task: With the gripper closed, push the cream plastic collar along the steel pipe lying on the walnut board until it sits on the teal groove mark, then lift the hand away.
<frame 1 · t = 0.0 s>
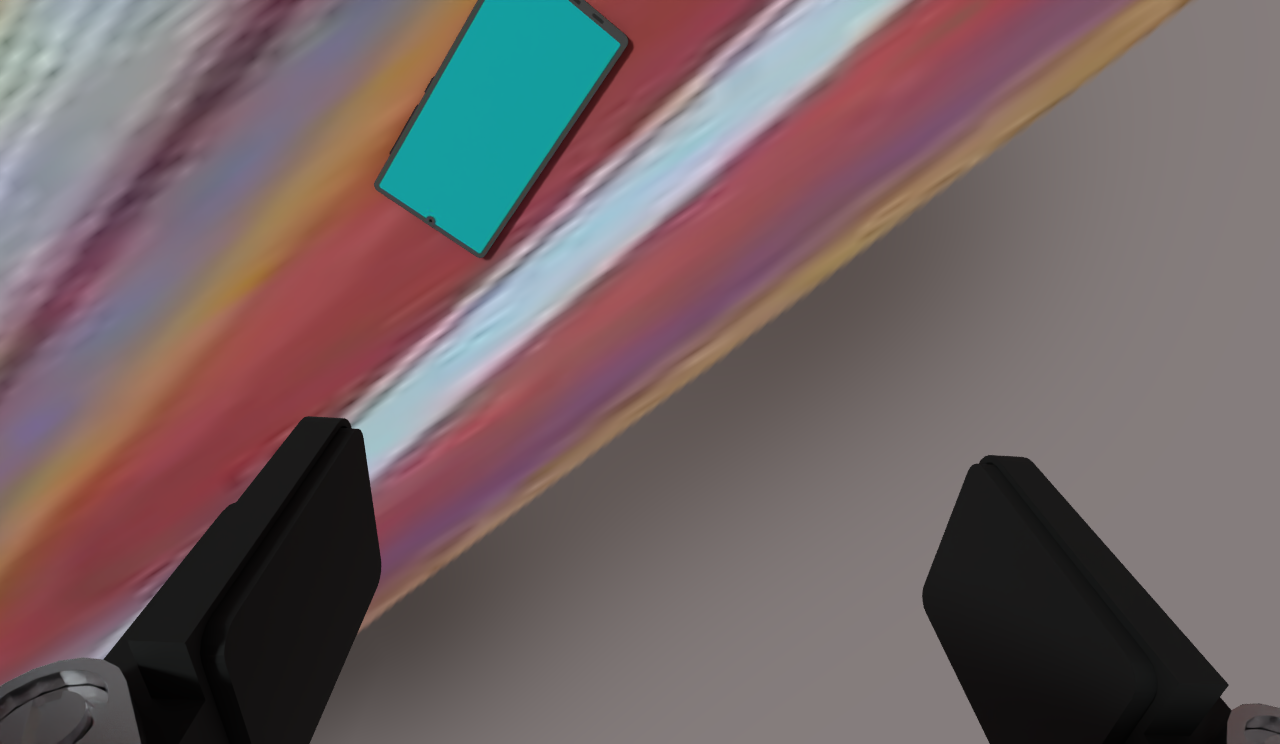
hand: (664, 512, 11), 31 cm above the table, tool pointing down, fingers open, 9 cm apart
smartphone: (497, 113, 38), on the table
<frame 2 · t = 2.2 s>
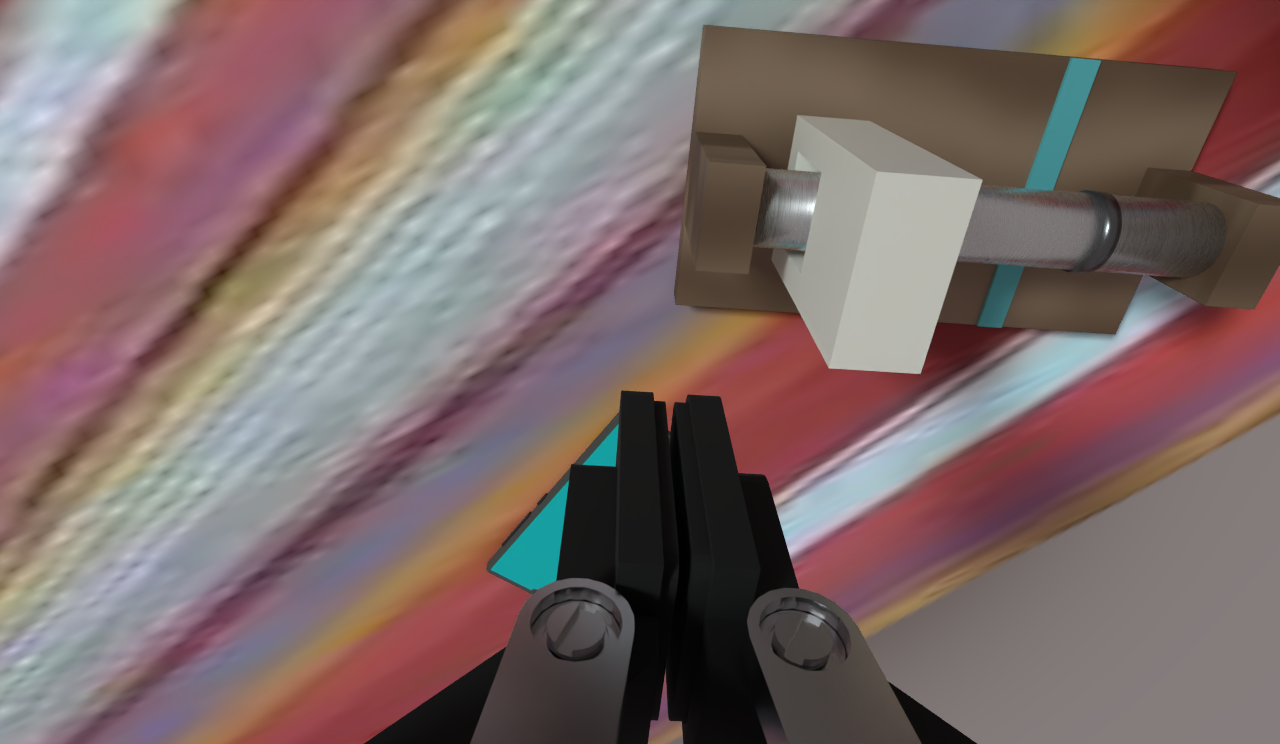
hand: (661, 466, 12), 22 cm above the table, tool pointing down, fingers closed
pipe rig: (921, 189, 31), on the table
smartphone: (600, 511, 41), on the table
collar: (851, 229, 25), point 7 cm above the table, slide at 0.0 cm
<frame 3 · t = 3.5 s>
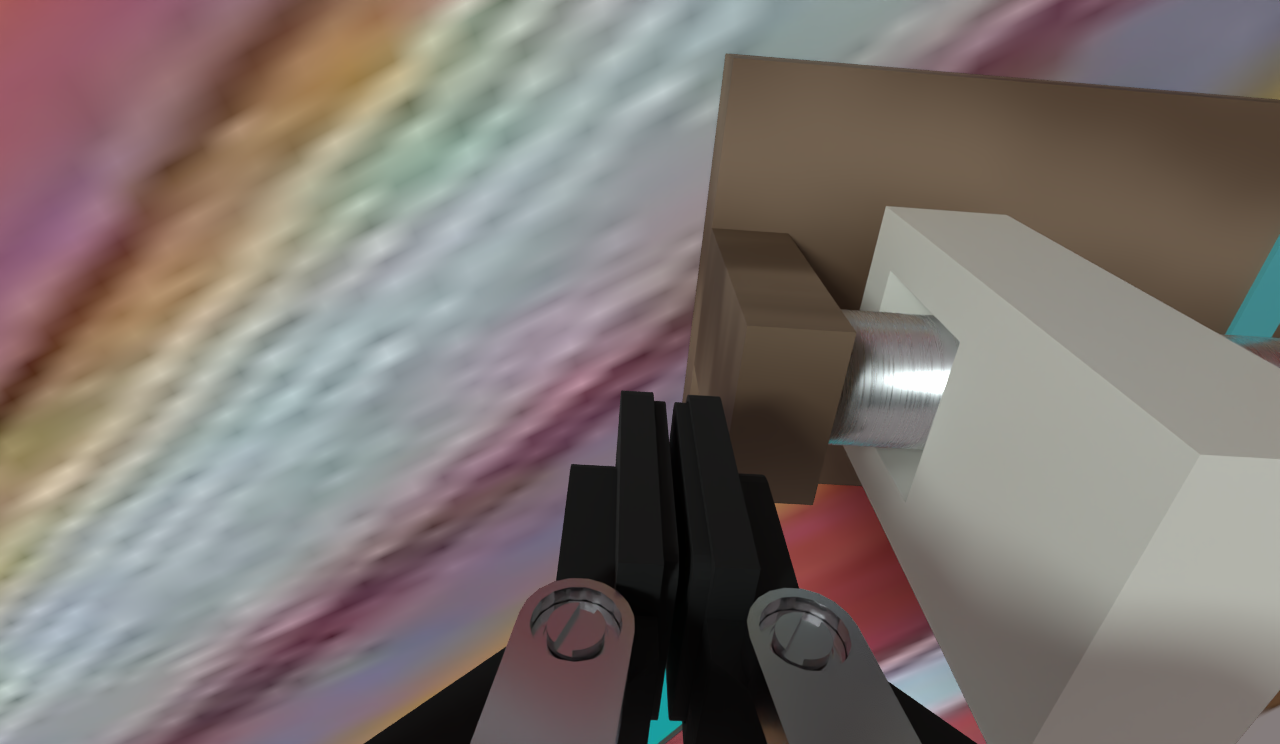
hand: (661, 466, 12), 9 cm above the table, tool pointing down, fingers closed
pipe rig: (1062, 304, 20), on the table
smartphone: (574, 711, 30), on the table
collar: (1006, 435, 13), point 7 cm above the table, slide at 0.0 cm
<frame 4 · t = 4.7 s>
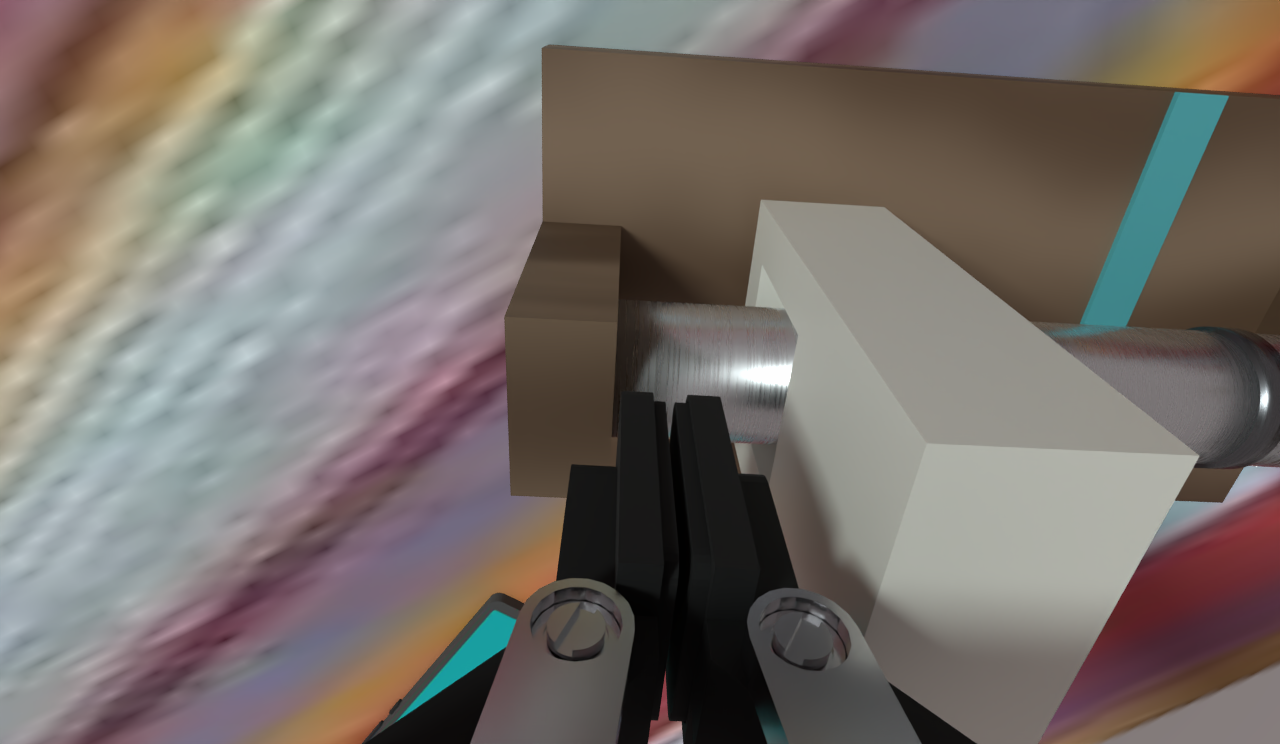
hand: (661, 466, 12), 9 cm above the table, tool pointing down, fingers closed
pipe rig: (922, 295, 20), on the table
smartphone: (483, 713, 30), on the table
collar: (858, 428, 13), point 8 cm above the table, slide at 1.3 cm, touching gripper
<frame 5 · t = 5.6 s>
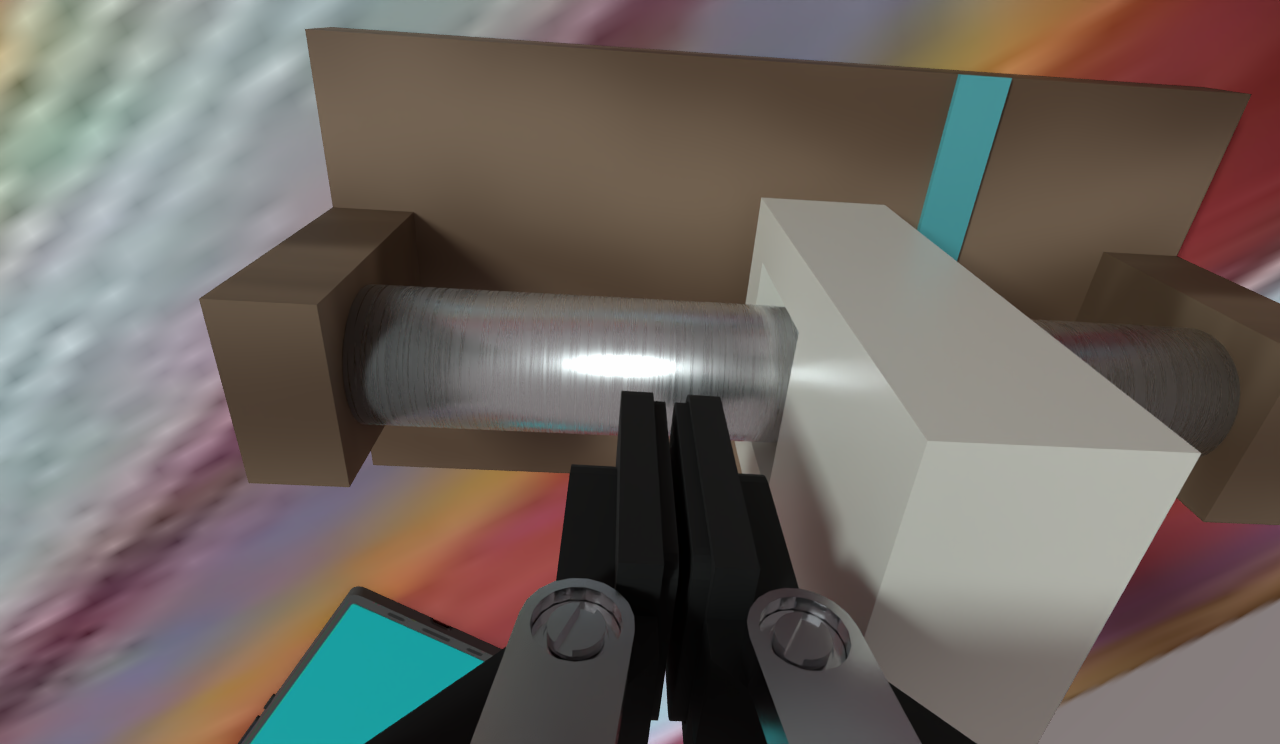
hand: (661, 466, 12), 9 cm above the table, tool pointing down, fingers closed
pipe rig: (746, 283, 20), on the table
smartphone: (363, 708, 30), on the table
collar: (858, 426, 13), point 8 cm above the table, slide at 6.6 cm, touching gripper
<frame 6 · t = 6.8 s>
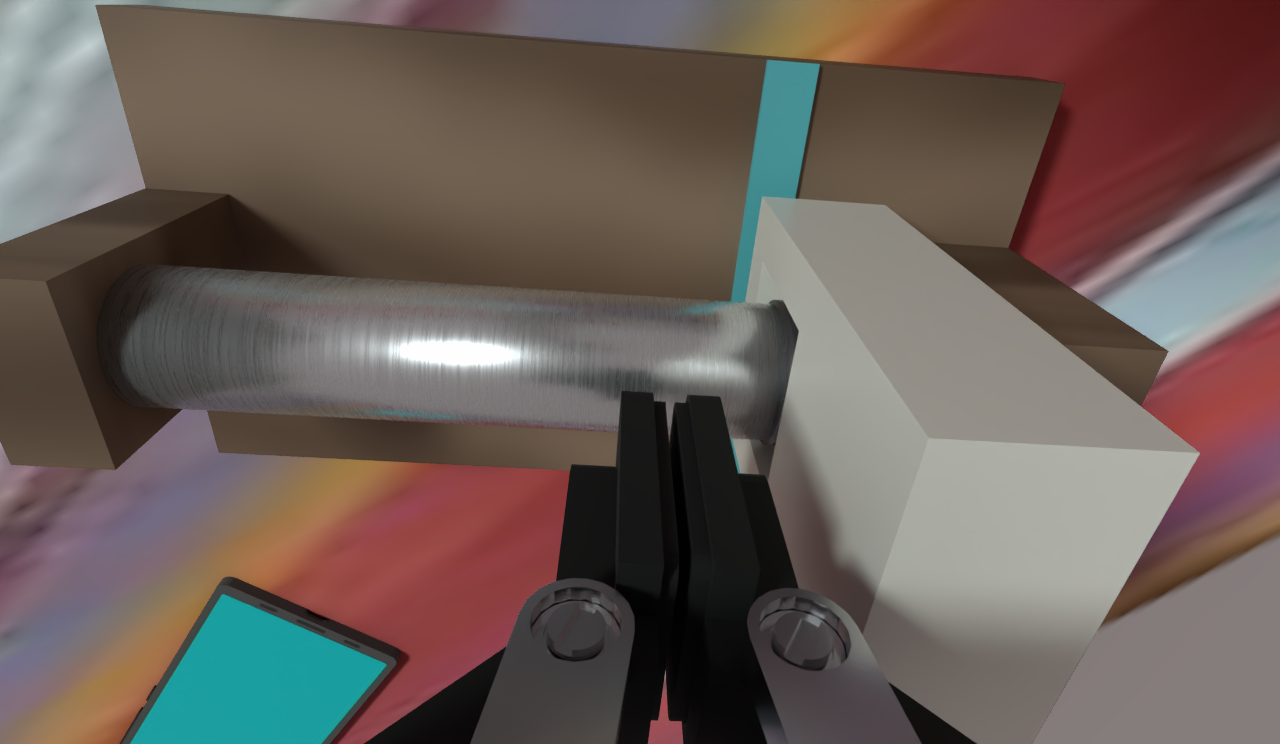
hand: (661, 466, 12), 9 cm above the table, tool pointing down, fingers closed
pipe rig: (590, 272, 19), on the table
smartphone: (251, 701, 29), on the table
collar: (857, 425, 13), point 7 cm above the table, slide at 11.1 cm, touching gripper
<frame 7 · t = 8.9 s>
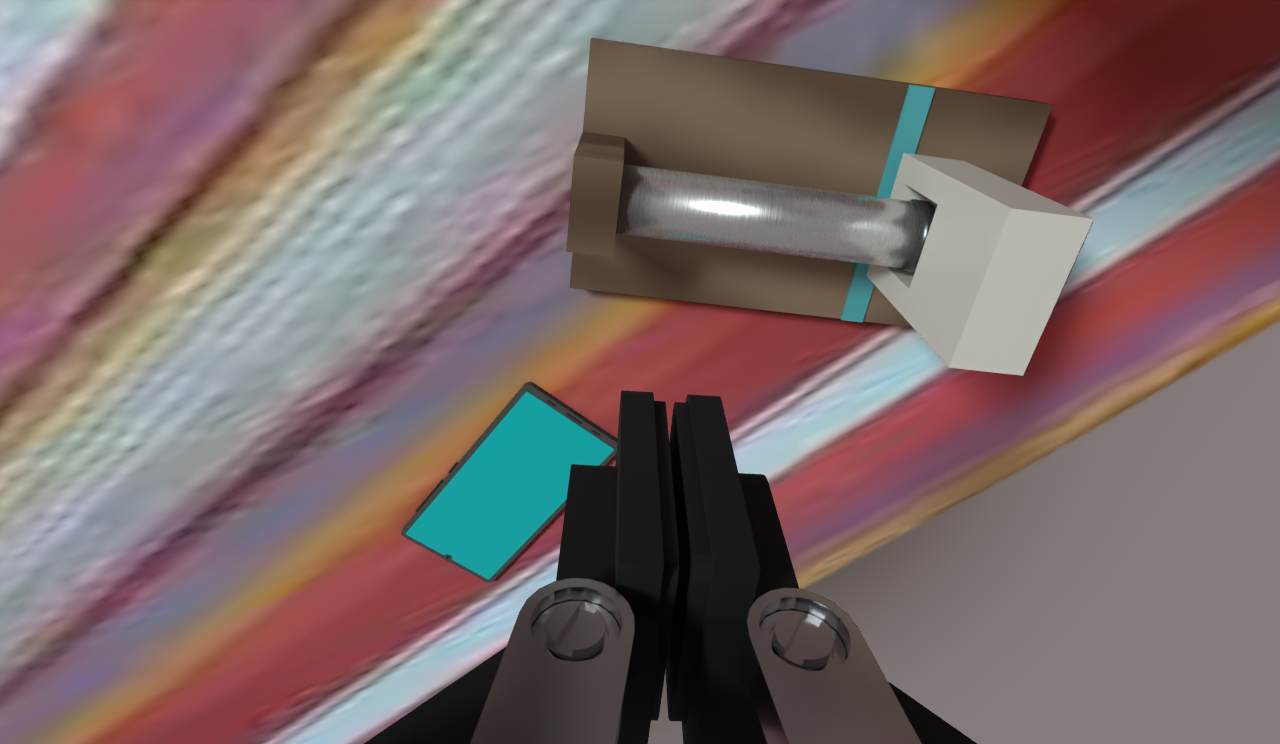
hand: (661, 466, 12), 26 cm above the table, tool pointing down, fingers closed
pipe rig: (790, 194, 35), on the table
smartphone: (509, 482, 45), on the table
collar: (957, 252, 29), point 8 cm above the table, slide at 11.2 cm
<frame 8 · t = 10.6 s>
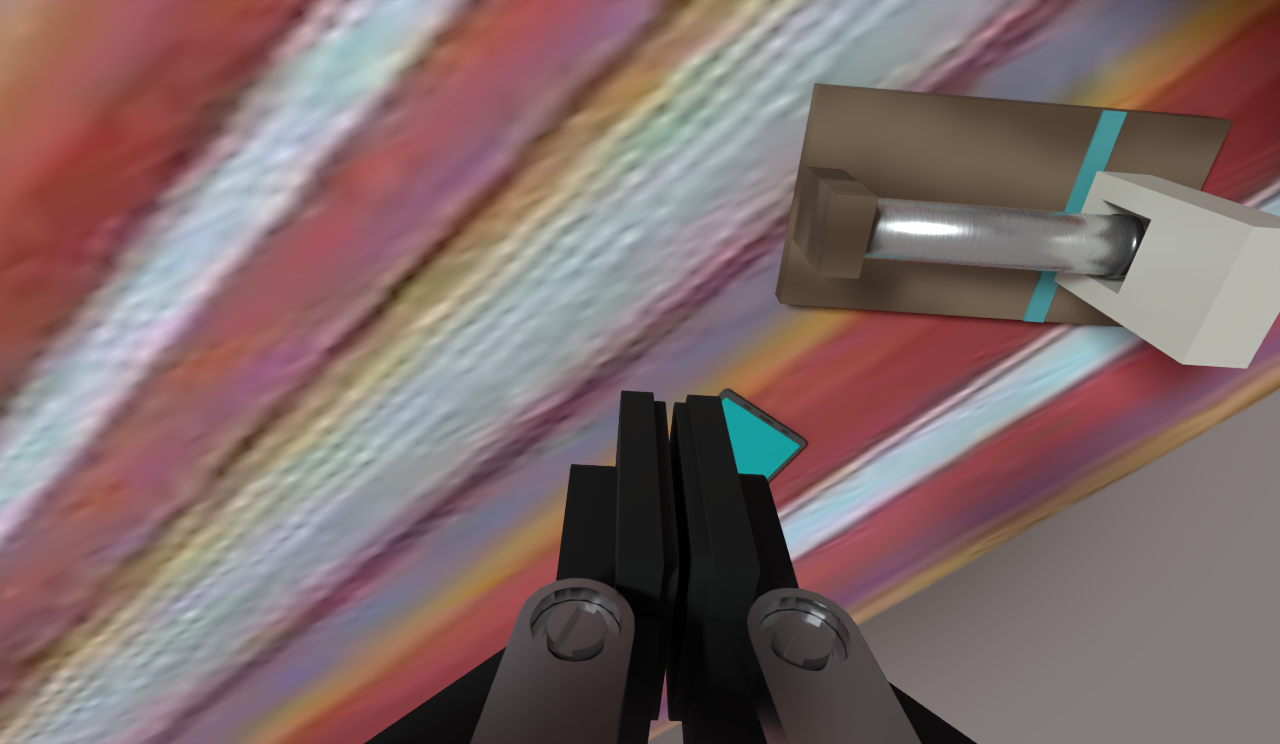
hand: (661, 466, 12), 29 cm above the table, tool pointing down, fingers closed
pipe rig: (980, 210, 39), on the table
smartphone: (697, 480, 49), on the table
collar: (1165, 260, 33), point 7 cm above the table, slide at 11.2 cm
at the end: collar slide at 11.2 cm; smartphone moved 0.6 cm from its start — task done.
